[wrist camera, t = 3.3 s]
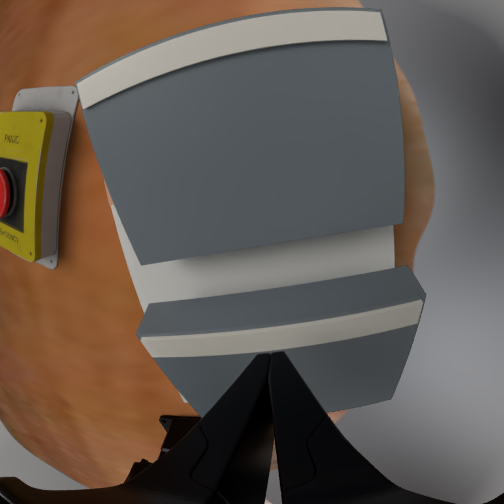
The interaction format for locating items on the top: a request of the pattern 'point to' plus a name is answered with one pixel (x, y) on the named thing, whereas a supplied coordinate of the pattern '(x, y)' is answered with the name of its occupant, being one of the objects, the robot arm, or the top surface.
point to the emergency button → (34, 170)
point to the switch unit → (259, 265)
